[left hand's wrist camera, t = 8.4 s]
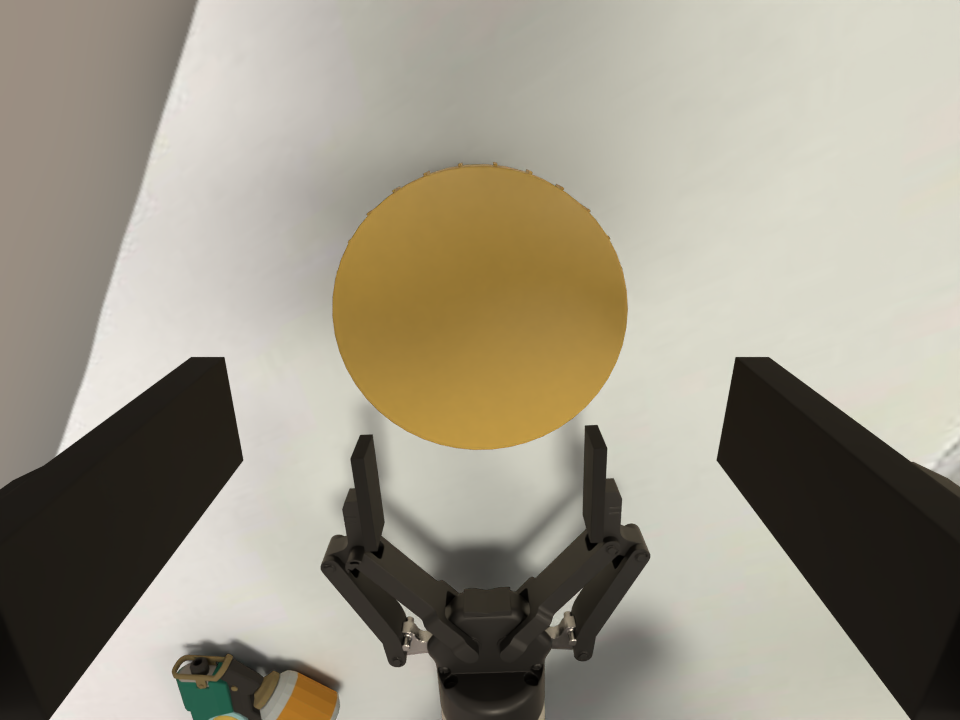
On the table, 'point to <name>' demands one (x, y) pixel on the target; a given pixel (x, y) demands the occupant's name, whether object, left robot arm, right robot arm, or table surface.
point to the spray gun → (250, 692)
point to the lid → (480, 307)
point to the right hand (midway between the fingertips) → (478, 440)
